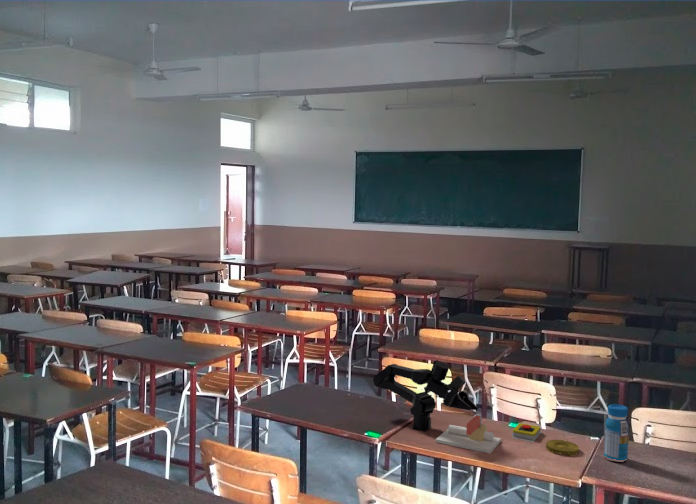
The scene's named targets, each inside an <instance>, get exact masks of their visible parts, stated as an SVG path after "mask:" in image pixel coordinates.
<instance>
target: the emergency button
mask: <svg viewBox="0 0 696 504" xmlns="http://www.w3.org/2000/svg"><path fill="white" fill-rule="evenodd" d="M542 433H543V431H542V429H541V426H539V425H534V424H533V425H532V424H528V423H521V422H519V423H518V424H517V425H516V426H515V427H514V428H513V429H512V436H511V437H510V438H511V439H513V440H514V439H515V440H519V441H525V442H529V443H534V442H535V441H536V440H537V439H538V438H539V437H540V435H541V434H542Z"/></svg>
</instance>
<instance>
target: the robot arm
mask: <svg viewBox="0 0 696 504" xmlns="http://www.w3.org/2000/svg"><path fill="white" fill-rule="evenodd" d="M449 369H450V365H449V364H448V363H447V362H444V361H440V360H439V359H436V360H433V364H432V367H431V369H429V368H420V369H418V368H417V369H415V368H411V367H407V366H402V365H399V364H397V363H391V364H388V365H387V366H385V368H384V369H382V370H381V371H379V372H378V373H377V374H375V375H374V376H373V379H372V380H373V384H374V386H375V387H376V388H378V389H382V390H388V391H390V392H392V393H393V394H395V395H397V396H399V397H401V398H402V399H404V400H405V401H407V402H409V403H410V404H411V405H412V407H411V408H410V415H411V416H412V415H413V424H412V426H411V429H412V430H418V431H422V432H427V431H428V430H430V429H431V427H432V417H431V414H433V412H434V410H435V409H436V404H437V403H436V400H435V398H434V397H433V395H432V394H429V393H433V394H435V395H436V396H437V397H438V398H439V399H442V404H443V405H444V406H446V407H449V408H454V409H460V410H466V411H471V410H472V411H473V410H474V411H478V409H479V407H478V406H477V405H476V404H475V403H474V402H473V401H472V400H471V399H470V394H469V393H468V392H467V391H465V390H461V391H460V388H461V387H462V386H464V385H465V384H466V383H467V382H466V380H465V379H464V378H463V377H462V376H460V375H457V376H456V377H455V378H454V379H453V380H452V381H450V383H448V384H447V383H445V382H444V381H445V380H446V378H447V374H448V373H449ZM396 376H398V377H401V378H405V379H410V380H411V382H413V383H414V384H416V385H419V386H421V385H425V384H426V386H424V387H423V389H424V391H421V392H416V391H414V390H413V389H410V388H408V387H407V386H405V385H404V384H401V383H399V382H398V381H396V379H395V377H396Z"/></svg>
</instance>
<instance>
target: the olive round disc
mask: <svg viewBox="0 0 696 504" xmlns="http://www.w3.org/2000/svg"><path fill="white" fill-rule="evenodd" d="M545 448H546V451H547V452H549V453H552V454H558V455H563V456H564V455H566V456H569V457H573V456H577V455H578V454H579V451H580V447H579V445H577V444H576V443H575V442H571V441H568V440H563V439H550V440H547V441H546V442H545Z"/></svg>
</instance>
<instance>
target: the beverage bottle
mask: <svg viewBox="0 0 696 504" xmlns="http://www.w3.org/2000/svg"><path fill="white" fill-rule="evenodd" d="M628 411H629V409H628V406H625V405H622V404H619V403H618V404H614V403H612V404H609V405H608V407H607V414H608V417H607V418H606V420H605V421H604V422H605V426H604V427H605V428H604V448H603V457H604V456H606V457H608V458H611V459H616V460H625V459H627V460H628V452H629V436H630V431H629V428H630V425H629V421H628V420H627V417H628V413H629V412H628Z"/></svg>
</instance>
